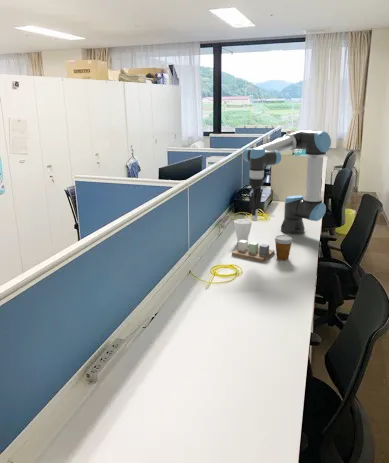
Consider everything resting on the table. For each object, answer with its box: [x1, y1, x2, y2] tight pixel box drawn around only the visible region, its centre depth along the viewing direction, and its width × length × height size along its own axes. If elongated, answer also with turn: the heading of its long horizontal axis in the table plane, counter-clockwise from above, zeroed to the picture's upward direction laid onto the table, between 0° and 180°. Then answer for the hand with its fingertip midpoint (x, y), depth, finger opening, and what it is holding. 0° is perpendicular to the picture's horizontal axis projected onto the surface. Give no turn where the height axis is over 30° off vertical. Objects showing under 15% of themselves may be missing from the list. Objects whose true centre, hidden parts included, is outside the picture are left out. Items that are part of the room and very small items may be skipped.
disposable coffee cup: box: [274, 234, 293, 261], centre depth 222 cm, size 10×10×12 cm
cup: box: [233, 218, 253, 244], centre depth 247 cm, size 10×10×14 cm
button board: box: [231, 244, 276, 263], centre depth 229 cm, size 15×19×2 cm
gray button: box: [258, 243, 270, 256], centre depth 225 cm, size 4×4×5 cm
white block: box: [237, 240, 249, 251], centre depth 232 cm, size 4×4×5 cm
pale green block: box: [248, 241, 259, 254], centre depth 228 cm, size 4×4×5 cm
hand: (254, 220), depth 224 cm, fingers closed
